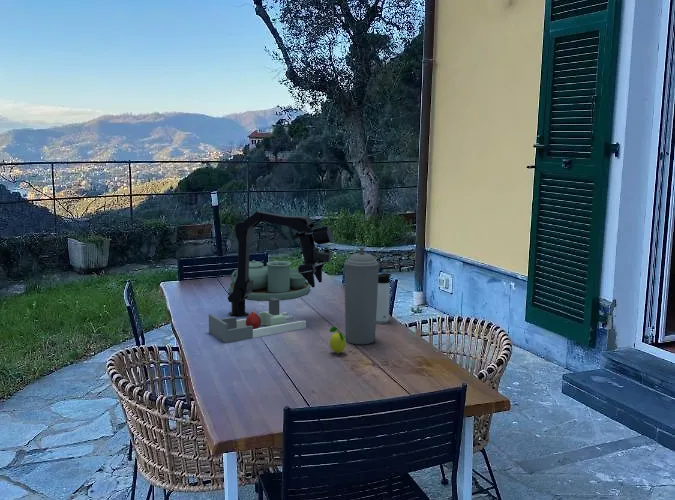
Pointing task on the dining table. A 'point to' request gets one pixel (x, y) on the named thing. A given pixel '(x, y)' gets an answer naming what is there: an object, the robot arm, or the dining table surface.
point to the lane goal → (247, 328)
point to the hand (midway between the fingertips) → (317, 284)
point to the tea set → (274, 281)
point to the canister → (361, 297)
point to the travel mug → (383, 298)
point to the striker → (273, 314)
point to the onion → (253, 320)
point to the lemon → (337, 341)
